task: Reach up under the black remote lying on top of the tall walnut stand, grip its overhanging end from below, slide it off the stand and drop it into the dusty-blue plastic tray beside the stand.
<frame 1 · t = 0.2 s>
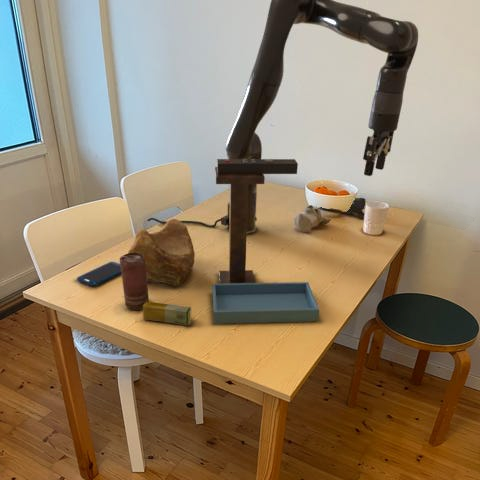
hand: (373, 172, 135), 29 cm above the table, tool pointing down, fingers open, 8 cm apart
remote: (256, 171, 122), point 32 cm above the table, touching stand
gun: (339, 213, 189), on the table
white cup: (372, 232, 174), on the table
stand: (236, 282, 139), on the table
cell phone: (103, 275, 141), on the table
tray: (263, 307, 128), on the table
can: (136, 305, 127), on the table
medication box: (167, 321, 121), on the table
ceramic sculpture: (309, 228, 176), on the table
rough brown rock: (169, 277, 141), on the table
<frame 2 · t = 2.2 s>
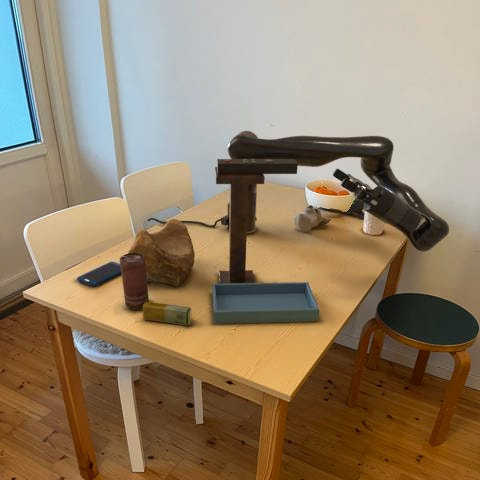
hand: (338, 176, 124), 31 cm above the table, tool pointing upward, fingers open, 8 cm apart
nothing on the table moved.
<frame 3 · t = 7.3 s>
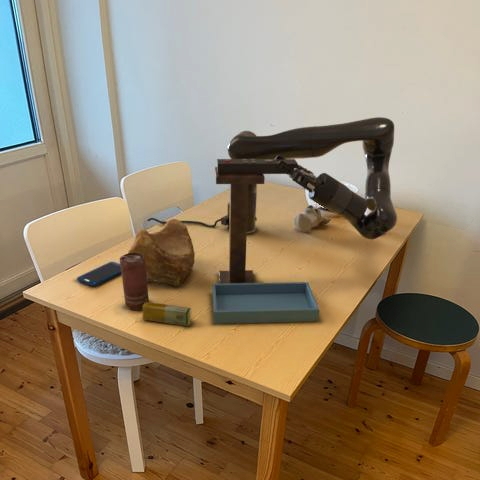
hand: (277, 161, 121), 35 cm above the table, tool pointing upward, fingers closed on remote, 4 cm apart
remote: (256, 171, 122), point 32 cm above the table, touching gripper, stand
everything else where it was.
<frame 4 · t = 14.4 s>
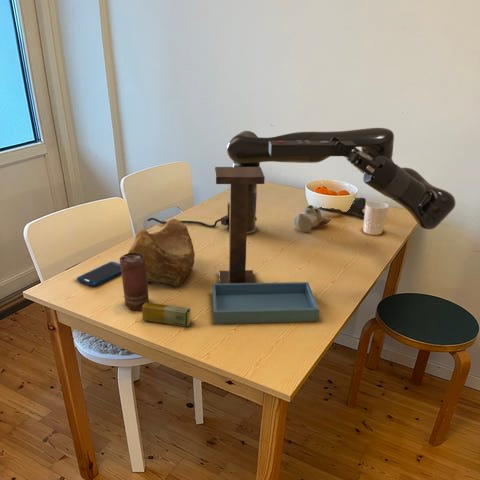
hand: (333, 142, 114), 41 cm above the table, tool pointing upward, fingers closed on remote, 4 cm apart
remote: (311, 154, 115), point 38 cm above the table, touching gripper
everything else where it was.
when the fingers open (22 cm above the table, at t = 21.4 s): remote drops 19 cm, resting on tray.
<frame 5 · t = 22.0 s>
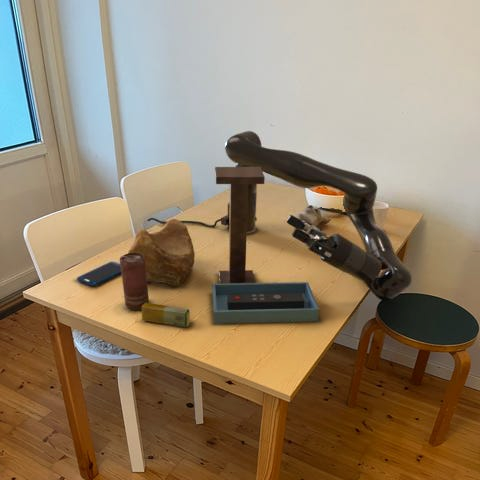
hand: (291, 224, 116), 23 cm above the table, tool pointing upward, fingers open, 8 cm apart
remote: (265, 306, 127), resting on tray
everything else where it was.
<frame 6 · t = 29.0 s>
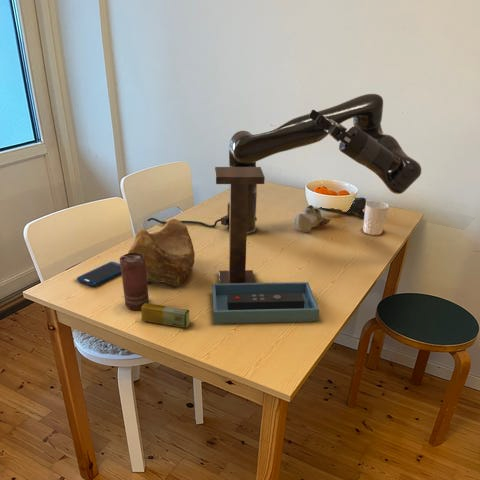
hand: (313, 115, 129), 43 cm above the table, tool pointing upward, fingers open, 8 cm apart
nothing on the table moved.
at the end: remote 0.6 cm from the tray (horizontally); remote point 0.5 cm above the table; the gripper is holding nothing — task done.
